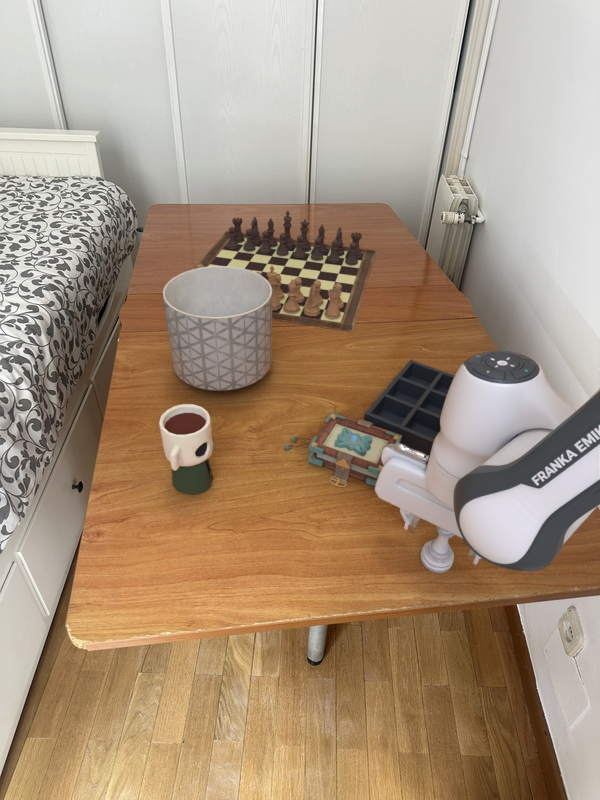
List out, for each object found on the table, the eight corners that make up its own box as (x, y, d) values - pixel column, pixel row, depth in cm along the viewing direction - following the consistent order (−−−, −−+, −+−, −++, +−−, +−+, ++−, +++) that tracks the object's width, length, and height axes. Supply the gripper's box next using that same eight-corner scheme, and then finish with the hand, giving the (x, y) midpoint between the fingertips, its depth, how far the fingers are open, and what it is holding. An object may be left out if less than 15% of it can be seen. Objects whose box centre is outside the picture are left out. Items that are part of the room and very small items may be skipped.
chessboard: (162, 302, 126) (156, 261, 119) (226, 231, 160) (224, 195, 153) (352, 332, 119) (357, 289, 112) (376, 250, 153) (381, 214, 147)
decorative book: (307, 415, 97) (309, 394, 94) (401, 447, 91) (406, 425, 88) (273, 463, 87) (273, 441, 84) (375, 502, 82) (380, 480, 79)
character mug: (202, 513, 79) (195, 450, 71) (157, 504, 80) (144, 441, 72) (225, 461, 87) (221, 399, 79) (184, 453, 88) (175, 392, 80)
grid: (505, 410, 100) (510, 395, 98) (470, 475, 87) (476, 460, 85) (407, 374, 108) (410, 359, 105) (362, 428, 95) (364, 413, 92)
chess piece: (453, 551, 76) (470, 505, 69) (450, 577, 72) (468, 531, 66) (422, 542, 76) (436, 496, 70) (417, 568, 73) (432, 522, 67)
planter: (272, 403, 99) (273, 317, 88) (168, 404, 98) (154, 317, 86) (271, 345, 114) (271, 266, 102) (180, 345, 112) (170, 265, 101)
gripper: (373, 452, 65) (361, 523, 74) (546, 530, 57) (509, 599, 66) (395, 423, 69) (381, 494, 78) (559, 492, 61) (522, 562, 70)
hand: (441, 543), depth 72 cm, fingers open, 7 cm apart
